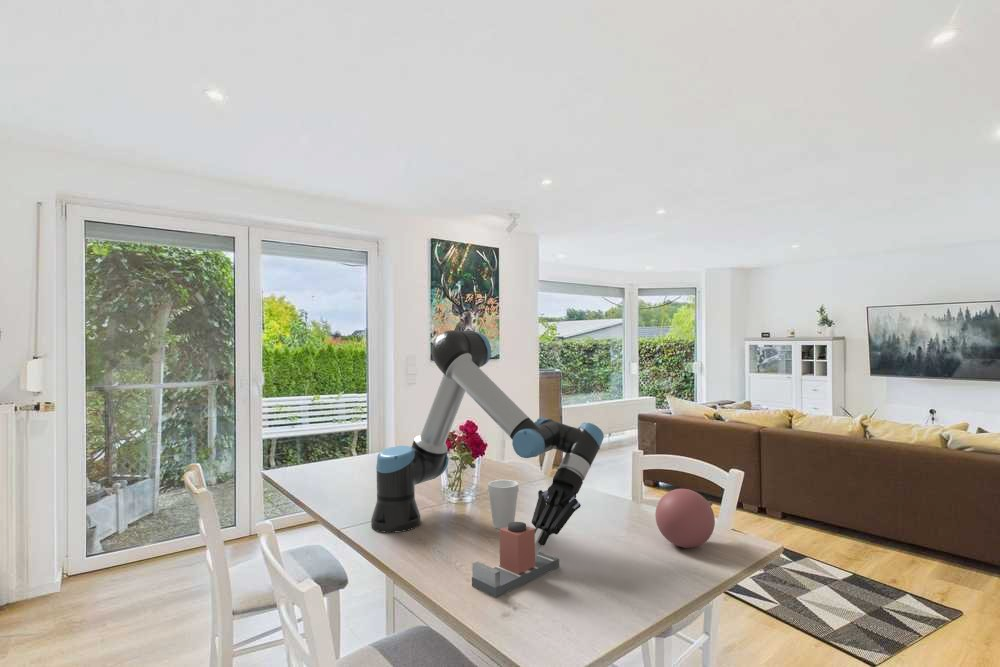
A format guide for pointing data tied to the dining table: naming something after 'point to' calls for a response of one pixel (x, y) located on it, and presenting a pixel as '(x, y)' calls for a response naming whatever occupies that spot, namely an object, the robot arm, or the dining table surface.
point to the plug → (517, 547)
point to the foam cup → (503, 501)
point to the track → (509, 575)
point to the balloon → (685, 518)
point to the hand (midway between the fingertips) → (530, 555)
